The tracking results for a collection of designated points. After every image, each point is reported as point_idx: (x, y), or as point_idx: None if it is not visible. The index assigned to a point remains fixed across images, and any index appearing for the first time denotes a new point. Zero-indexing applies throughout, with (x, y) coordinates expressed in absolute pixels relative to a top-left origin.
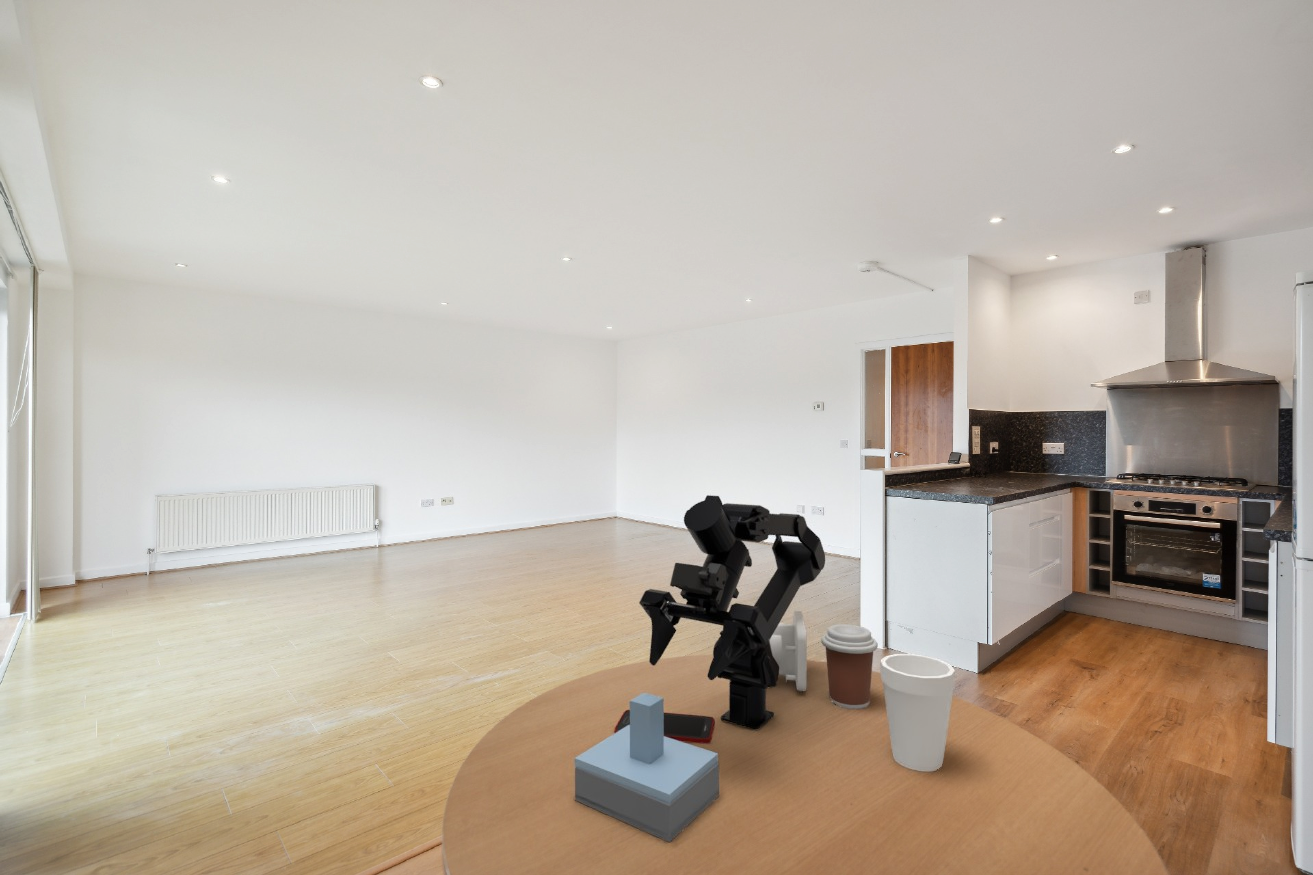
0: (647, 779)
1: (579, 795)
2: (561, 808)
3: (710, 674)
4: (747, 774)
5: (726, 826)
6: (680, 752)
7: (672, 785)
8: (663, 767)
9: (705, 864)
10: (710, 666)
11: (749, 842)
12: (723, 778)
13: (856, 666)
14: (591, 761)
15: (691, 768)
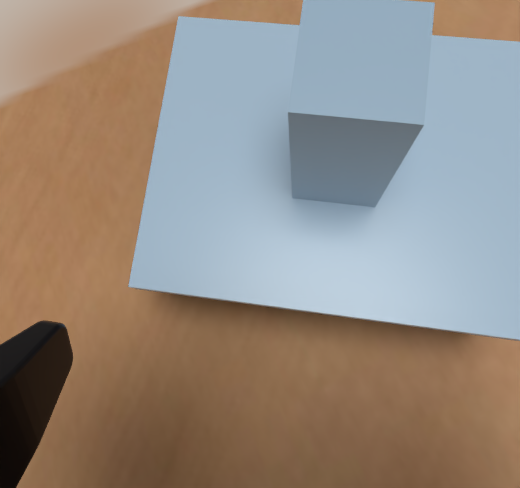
0: (267, 49)
1: None
2: None
3: (34, 328)
4: (120, 432)
5: (105, 180)
6: (245, 233)
7: (188, 55)
8: (255, 128)
9: (108, 51)
10: (16, 364)
11: (44, 152)
12: (177, 378)
13: None
14: (479, 53)
15: (174, 160)
